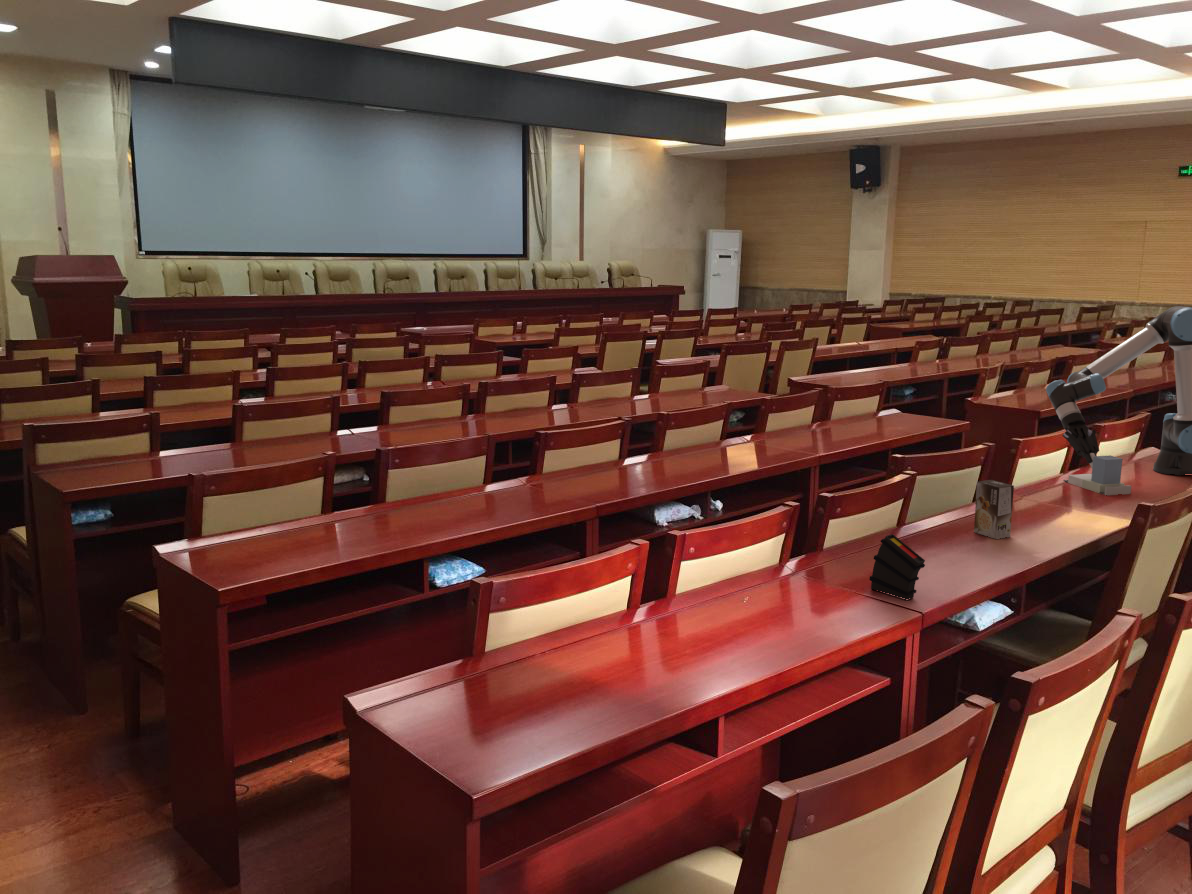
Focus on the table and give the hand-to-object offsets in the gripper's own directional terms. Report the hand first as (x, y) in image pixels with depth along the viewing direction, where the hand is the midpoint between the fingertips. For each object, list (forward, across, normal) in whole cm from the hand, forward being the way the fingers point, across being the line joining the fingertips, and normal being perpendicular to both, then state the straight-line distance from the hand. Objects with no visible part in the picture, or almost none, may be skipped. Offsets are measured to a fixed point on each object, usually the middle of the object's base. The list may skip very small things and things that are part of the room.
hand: (1097, 469), depth 349 cm
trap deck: (+5, 0, -5) cm, 7 cm away
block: (+6, 0, 0) cm, 6 cm away
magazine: (+66, +127, +57) cm, 154 cm away
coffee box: (+37, +72, +27) cm, 85 cm away
